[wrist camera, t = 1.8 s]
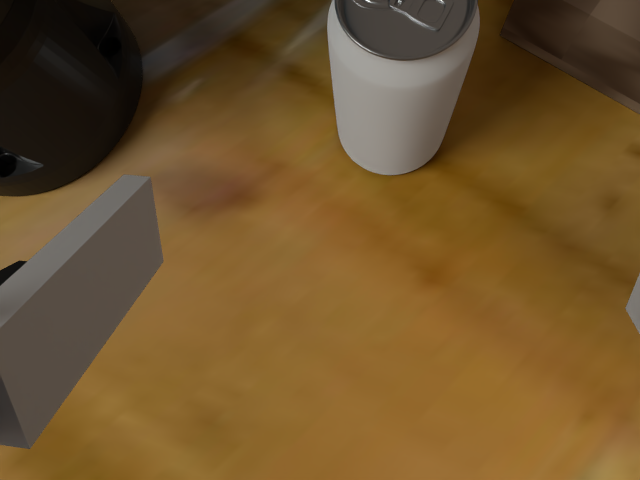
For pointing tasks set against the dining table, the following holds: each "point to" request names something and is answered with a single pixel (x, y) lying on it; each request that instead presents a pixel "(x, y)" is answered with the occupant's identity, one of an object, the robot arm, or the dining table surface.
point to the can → (398, 76)
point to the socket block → (584, 41)
